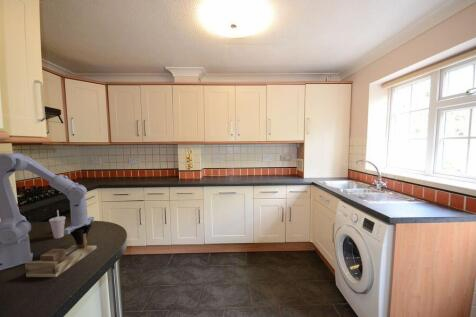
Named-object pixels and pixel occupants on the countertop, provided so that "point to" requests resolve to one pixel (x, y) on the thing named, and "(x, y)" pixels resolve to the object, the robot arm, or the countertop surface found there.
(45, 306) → the countertop surface
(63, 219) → the smoothie
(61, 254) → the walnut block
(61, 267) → the lane shelf
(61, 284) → the countertop surface
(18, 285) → the countertop surface
